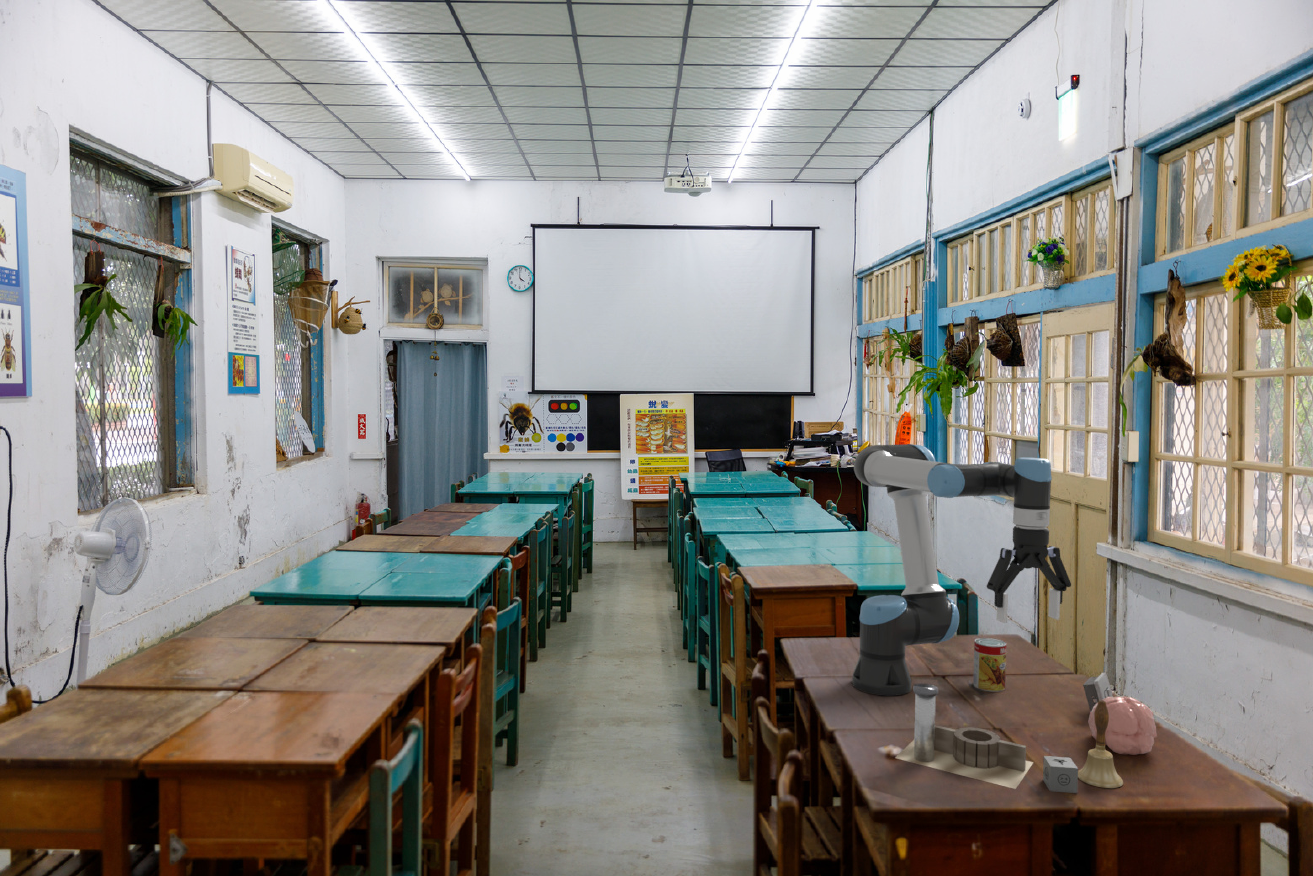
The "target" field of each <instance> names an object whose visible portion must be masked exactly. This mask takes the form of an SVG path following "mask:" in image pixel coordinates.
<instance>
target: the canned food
mask: <svg viewBox="0 0 1313 876" xmlns="http://www.w3.org/2000/svg"><path fill="white" fill-rule="evenodd" d="M973 642H974V645H973V646H974V648H973V650H974V651H973V678H972V679H973V686H974V688H976V689H978V690H981V691H985V692H994V693H996V692H997V693H999V692H1003V691H1004V690H1006V676H1007V674H1006V672H1007V670H1006V669H1007V642H1005V641H1004V640H1002V639H999V638H991V637H979V638H975V639H974V641H973Z"/></svg>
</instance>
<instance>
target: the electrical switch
mask: <svg viewBox="0 0 1313 876" xmlns="http://www.w3.org/2000/svg"><path fill="white" fill-rule="evenodd" d="M1109 681H1110V680H1109V677H1108V675H1107V673H1106V672H1101V673H1100V675H1097V676H1090V677H1088V678H1087V680H1086V681H1085V682H1084V683H1083V686H1082V687H1083V690H1084V694H1085V697H1086V701H1087V705H1088V709H1089V713H1090V712H1091V711H1092V709H1093V707H1094V706H1095V705H1096V704H1097V703H1098V701H1099V700H1103V699H1105V698H1107V697H1114V696H1113V691H1112V688H1111V684H1110V682H1109Z"/></svg>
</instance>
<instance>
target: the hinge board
mask: <svg viewBox="0 0 1313 876" xmlns="http://www.w3.org/2000/svg"><path fill="white" fill-rule="evenodd" d="M1001 739H1002V738H1001V737H1000V736H999V735H998V734H997V733H995V732H994V731H991V730H988V729H984V728H980V727H971V726H970V727H968V726H967V727H960V728H957V729H954V728H950V727H945V726H941V725H937V724H935V739H934V761H932V762H921V761H918V760H916V759H915V758H914V739H913V740H912V741H911V742H910V743H908V744H907V745H906V747H904V748H903V749H902V750H901V751H900V752H899V753H898V754H897V755H896V756H895V757H894V759H897V760H902V761H905V762H909V763H913V764H917V765H919V766H923V767H928V768H932V769H935V770H939V771H944V772H947V773H951V774H955V775H958V776H959V775H960V776H963V777H966V778H971V779H975V780H979V781H982V782H986V783H990V784H994V785H999V786H1001V787H1005V788H1009V789H1013V790H1017V788H1018V787H1019V785H1020V783H1021V782H1022V781H1023V779H1024V778H1025V776H1026V775H1027V774H1028V771H1029V770H1030V769H1031V767H1032V766H1033V764H1034V762H1033V761H1030V760H1026V758H1027V745H1023V744H1019V743H1016V742H1015V743H1014V742H1011V741H1006V740H1003V739H1002V740H1001Z"/></svg>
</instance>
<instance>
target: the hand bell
mask: <svg viewBox="0 0 1313 876" xmlns="http://www.w3.org/2000/svg"><path fill="white" fill-rule="evenodd" d="M1094 719H1095V725H1096V729H1097V737H1096V739H1095V748H1092V749H1091V748H1090V749H1089V750H1088V752H1087V757H1086V761H1085V764H1084V765H1083V767H1082V768H1081V769H1078V779H1079V780H1080V781H1081V782H1083V783H1085V784H1087V785H1091V786H1094V787H1096V788H1097V787H1099V788H1103V789H1104V788H1105V789H1116V788H1119V787H1122V786H1123V785H1124V780H1123V779H1122V777H1121V776H1120V775H1119V774H1118V773H1117V770H1116V768H1115V765H1114V764H1115V763H1114V756H1113V754H1112V753H1111V752H1110V751H1108V750H1106V745H1105V732H1106V729H1107V726H1108V722H1109V713H1108V709H1107V706H1106V702H1105V701H1103V700H1099V701H1098V705H1097V707H1096V709H1095V715H1094Z"/></svg>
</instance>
